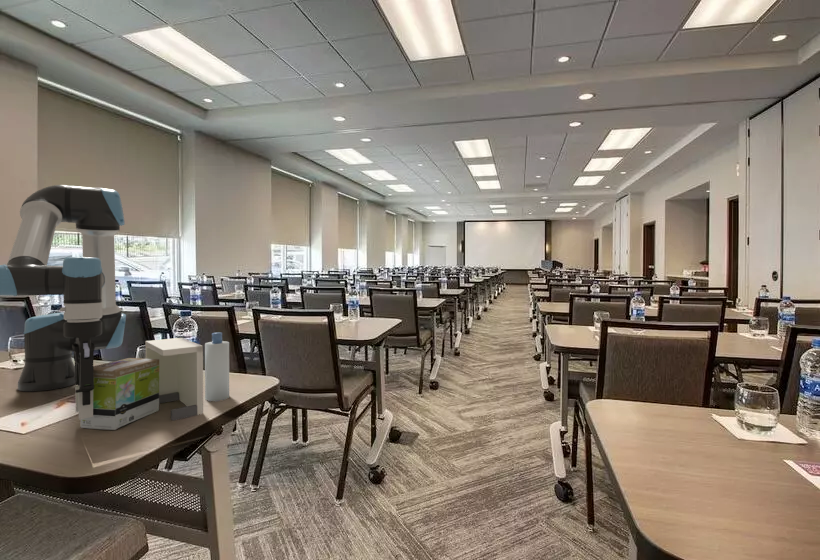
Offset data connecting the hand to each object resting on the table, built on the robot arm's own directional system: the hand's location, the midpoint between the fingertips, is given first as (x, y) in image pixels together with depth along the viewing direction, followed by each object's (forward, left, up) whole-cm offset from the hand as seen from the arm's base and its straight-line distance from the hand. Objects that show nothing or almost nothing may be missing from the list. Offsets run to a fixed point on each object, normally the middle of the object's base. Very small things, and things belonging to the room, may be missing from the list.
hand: (84, 414), depth 105 cm
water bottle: (-2, +32, -3) cm, 32 cm away
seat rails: (0, +19, -3) cm, 19 cm away
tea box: (-1, +8, -4) cm, 9 cm away
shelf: (0, +19, -3) cm, 19 cm away
